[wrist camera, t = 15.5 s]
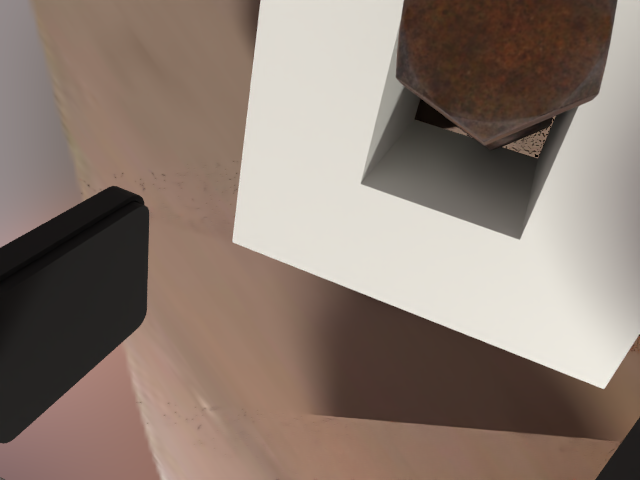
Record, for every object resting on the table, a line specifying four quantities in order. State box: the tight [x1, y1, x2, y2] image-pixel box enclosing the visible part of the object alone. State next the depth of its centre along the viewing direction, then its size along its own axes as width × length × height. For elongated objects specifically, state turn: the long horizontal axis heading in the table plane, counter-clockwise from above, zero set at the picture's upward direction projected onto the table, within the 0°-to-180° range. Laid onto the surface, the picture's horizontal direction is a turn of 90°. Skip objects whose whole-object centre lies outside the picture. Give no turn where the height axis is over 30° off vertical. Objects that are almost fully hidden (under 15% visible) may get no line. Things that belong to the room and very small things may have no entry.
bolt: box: [396, 0, 618, 151], centre depth 22 cm, size 6×5×15 cm
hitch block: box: [232, 0, 640, 389], centre depth 25 cm, size 17×18×9 cm
